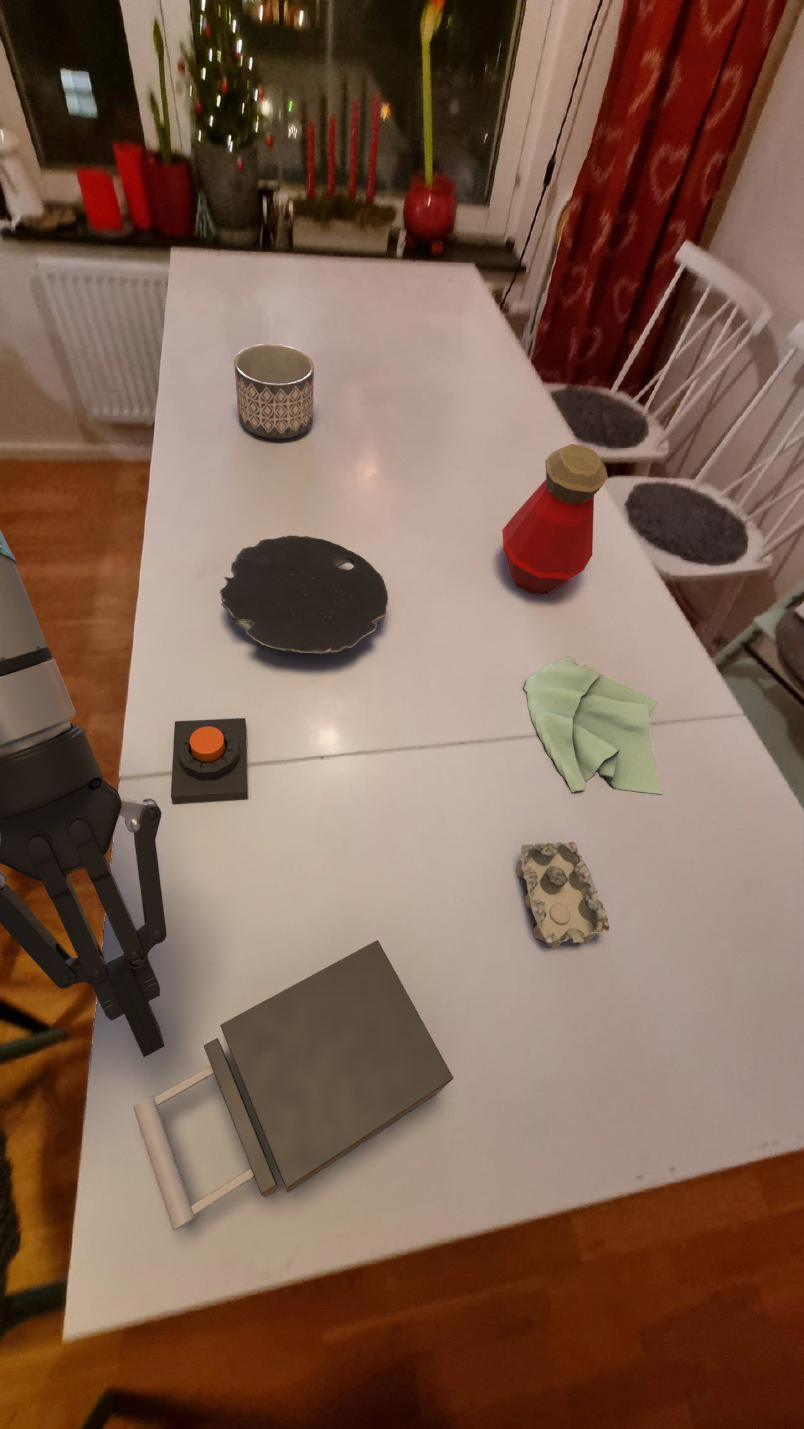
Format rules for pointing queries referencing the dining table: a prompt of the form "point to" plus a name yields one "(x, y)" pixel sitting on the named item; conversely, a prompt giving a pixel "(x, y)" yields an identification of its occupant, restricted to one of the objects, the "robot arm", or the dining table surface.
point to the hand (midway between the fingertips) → (151, 1041)
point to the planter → (274, 390)
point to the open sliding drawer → (163, 1153)
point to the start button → (207, 744)
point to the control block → (210, 764)
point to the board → (304, 595)
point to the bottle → (555, 522)
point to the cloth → (593, 727)
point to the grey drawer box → (334, 1062)
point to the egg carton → (561, 894)
